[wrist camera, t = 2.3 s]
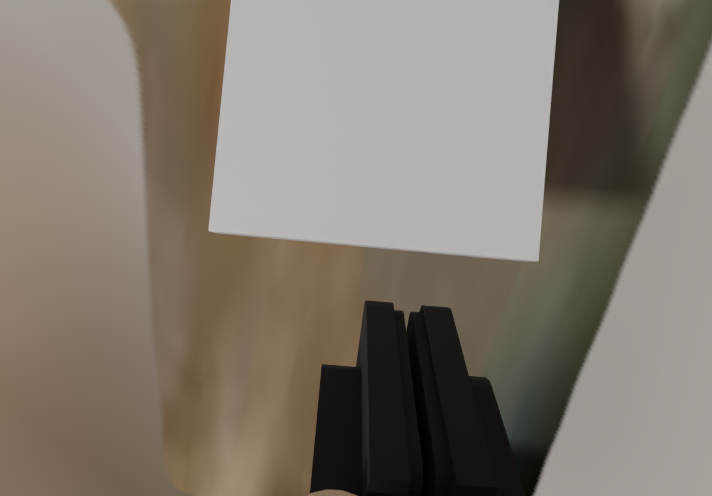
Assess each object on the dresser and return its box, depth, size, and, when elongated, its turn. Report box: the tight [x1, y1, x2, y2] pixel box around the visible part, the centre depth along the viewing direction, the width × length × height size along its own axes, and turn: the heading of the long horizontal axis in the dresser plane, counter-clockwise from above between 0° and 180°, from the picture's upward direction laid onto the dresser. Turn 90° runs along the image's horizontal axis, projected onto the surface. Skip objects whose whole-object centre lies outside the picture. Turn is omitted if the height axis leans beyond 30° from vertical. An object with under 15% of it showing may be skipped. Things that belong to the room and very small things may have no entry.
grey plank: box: [208, 0, 559, 261], centre depth 20 cm, size 16×12×2 cm
